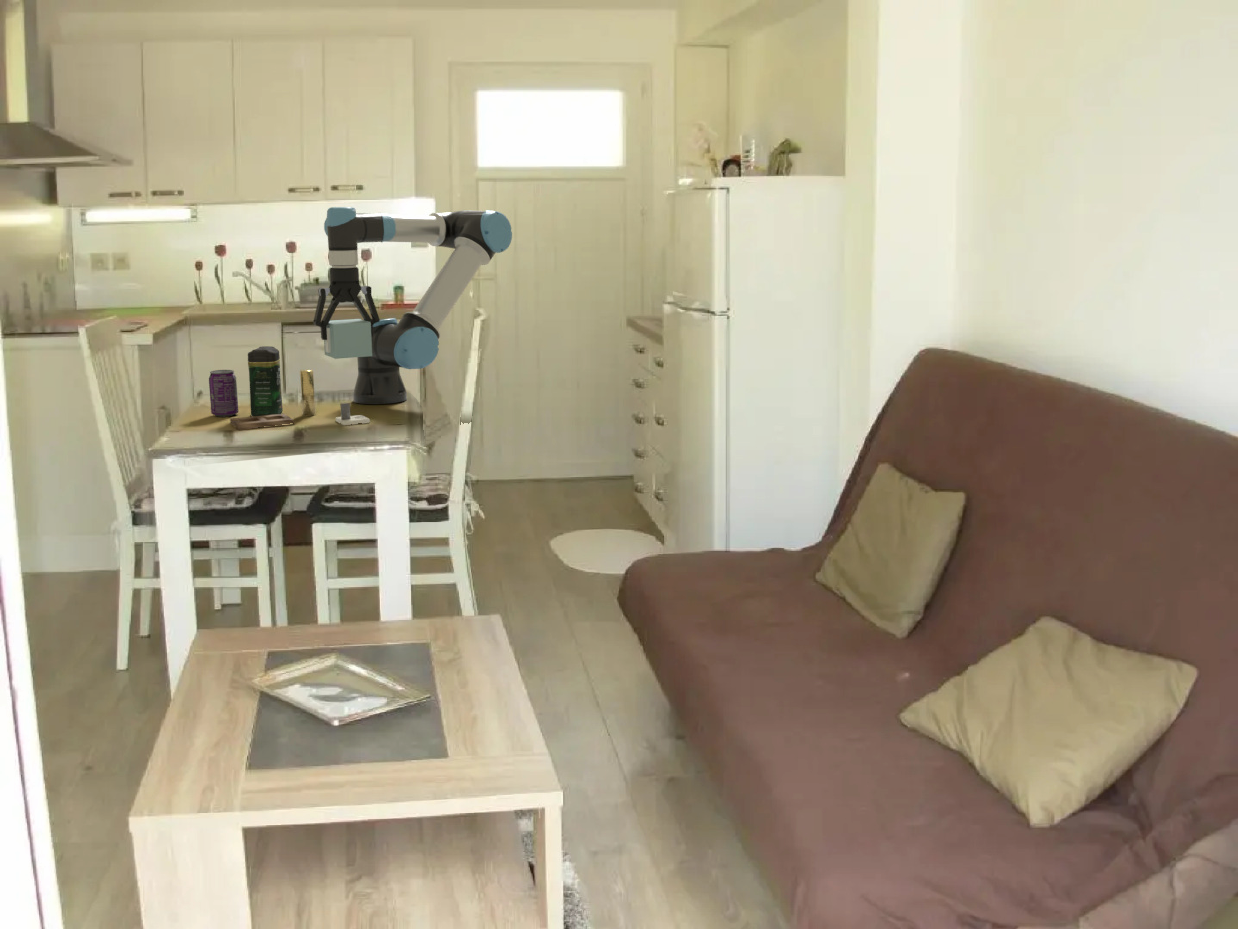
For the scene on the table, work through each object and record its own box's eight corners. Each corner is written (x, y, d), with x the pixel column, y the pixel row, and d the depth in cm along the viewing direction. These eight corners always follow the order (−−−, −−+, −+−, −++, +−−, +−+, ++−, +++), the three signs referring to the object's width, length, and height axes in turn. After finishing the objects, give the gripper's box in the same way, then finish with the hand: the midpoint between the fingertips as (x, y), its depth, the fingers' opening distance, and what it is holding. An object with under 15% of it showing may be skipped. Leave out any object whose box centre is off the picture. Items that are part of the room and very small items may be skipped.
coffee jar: (278, 418, 366) (273, 348, 362) (248, 418, 366) (243, 349, 362) (286, 412, 376) (282, 344, 372) (257, 412, 376) (252, 344, 372)
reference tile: (361, 418, 364) (360, 400, 363) (369, 422, 358) (368, 403, 357) (335, 421, 361) (334, 402, 360) (343, 425, 355) (342, 406, 354)
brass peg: (313, 413, 373) (311, 369, 371) (317, 415, 370) (314, 370, 368) (301, 414, 372) (298, 370, 369) (304, 416, 369) (301, 371, 366)
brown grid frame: (284, 418, 365) (283, 413, 365) (293, 424, 356) (293, 419, 356) (230, 423, 359) (230, 418, 358) (239, 429, 350) (238, 424, 350)
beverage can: (228, 412, 376) (225, 368, 374) (244, 414, 372) (241, 370, 370) (206, 415, 371) (202, 371, 369) (221, 418, 367) (218, 373, 364)
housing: (361, 352, 373) (359, 318, 372) (372, 356, 365) (370, 322, 363) (324, 354, 369) (322, 320, 367) (335, 358, 360) (333, 324, 358)
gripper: (380, 264, 370) (384, 346, 375) (297, 267, 360) (302, 352, 365) (389, 265, 364) (393, 349, 368) (305, 268, 354) (309, 355, 358)
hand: (348, 350), depth 367 cm, fingers closed on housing, 10 cm apart
